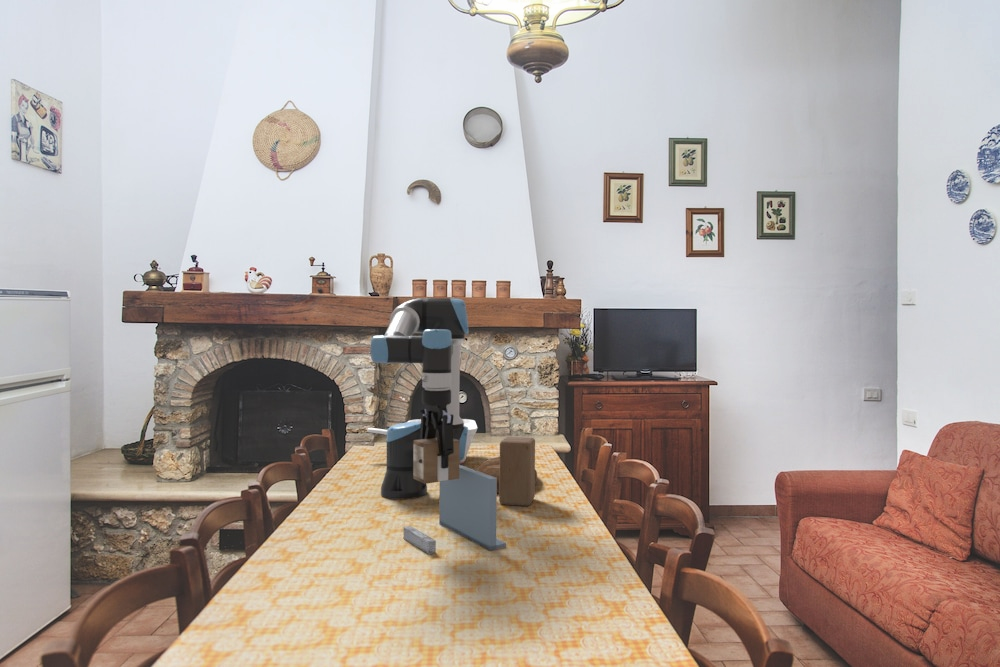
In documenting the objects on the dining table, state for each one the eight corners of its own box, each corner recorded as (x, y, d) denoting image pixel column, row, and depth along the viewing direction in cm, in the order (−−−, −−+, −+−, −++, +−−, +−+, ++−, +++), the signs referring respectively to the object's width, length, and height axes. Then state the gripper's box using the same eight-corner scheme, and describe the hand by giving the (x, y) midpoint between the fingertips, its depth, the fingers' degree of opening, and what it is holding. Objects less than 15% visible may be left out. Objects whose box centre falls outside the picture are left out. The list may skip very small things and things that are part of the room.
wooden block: (530, 507, 206) (530, 442, 206) (498, 505, 208) (499, 441, 208) (534, 498, 216) (535, 437, 215) (504, 496, 218) (505, 435, 217)
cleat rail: (403, 538, 175) (403, 527, 175) (410, 537, 177) (410, 525, 177) (428, 554, 164) (428, 542, 164) (435, 552, 165) (435, 540, 165)
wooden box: (409, 479, 172) (409, 440, 172) (447, 473, 178) (447, 436, 178) (421, 484, 167) (421, 444, 166) (459, 478, 173) (459, 440, 173)
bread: (473, 496, 219) (473, 470, 219) (477, 470, 257) (477, 449, 256) (539, 497, 219) (540, 471, 219) (534, 471, 256) (534, 449, 256)
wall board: (439, 523, 188) (439, 460, 188) (454, 521, 191) (455, 458, 191) (489, 550, 167) (490, 479, 166) (506, 547, 170) (506, 476, 169)
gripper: (406, 386, 178) (406, 472, 179) (442, 393, 162) (441, 487, 162) (431, 385, 182) (431, 468, 183) (468, 391, 166) (467, 483, 167)
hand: (436, 477), depth 173 cm, fingers closed on wooden box, 6 cm apart
